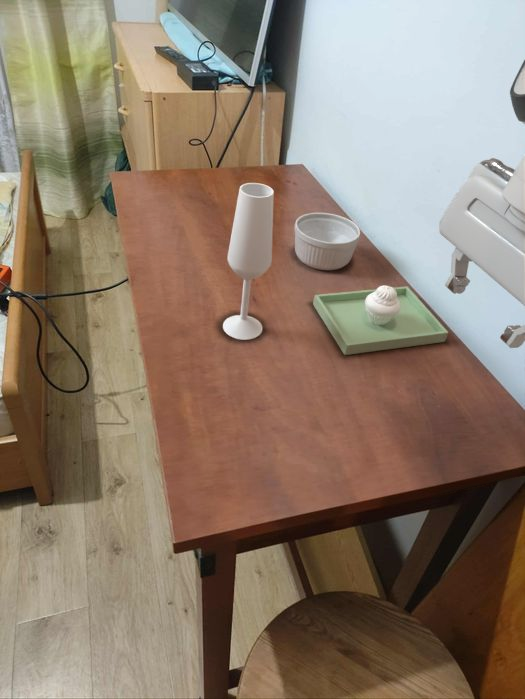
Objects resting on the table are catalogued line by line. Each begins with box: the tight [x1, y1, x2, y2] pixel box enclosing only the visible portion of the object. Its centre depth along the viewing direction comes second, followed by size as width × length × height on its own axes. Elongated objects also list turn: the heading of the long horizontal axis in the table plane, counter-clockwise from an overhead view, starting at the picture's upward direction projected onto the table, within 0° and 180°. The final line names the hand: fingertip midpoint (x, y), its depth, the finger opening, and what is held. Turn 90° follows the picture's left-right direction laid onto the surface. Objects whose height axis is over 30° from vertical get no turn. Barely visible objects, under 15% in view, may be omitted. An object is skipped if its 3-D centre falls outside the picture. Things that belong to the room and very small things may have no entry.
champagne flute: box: [222, 182, 275, 341], centre depth 78 cm, size 7×7×24 cm
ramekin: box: [293, 212, 361, 271], centre depth 104 cm, size 13×13×7 cm
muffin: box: [365, 284, 401, 325], centre depth 88 cm, size 6×6×7 cm
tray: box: [312, 285, 449, 356], centre depth 90 cm, size 19×14×2 cm
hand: (479, 315), depth 55 cm, fingers open, 8 cm apart
